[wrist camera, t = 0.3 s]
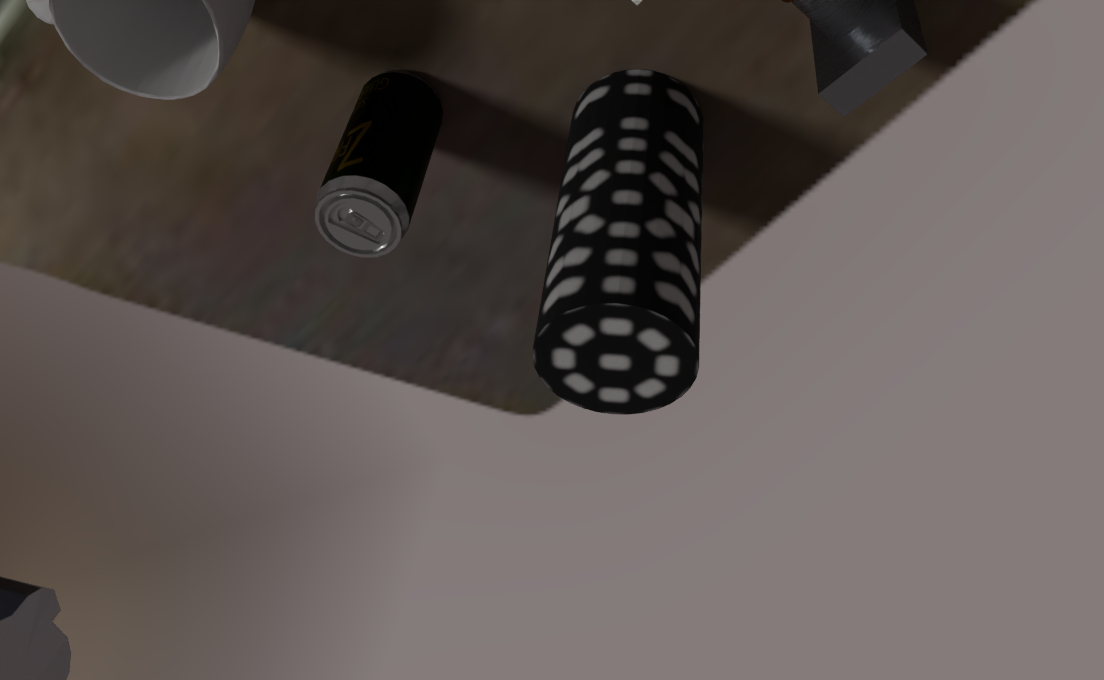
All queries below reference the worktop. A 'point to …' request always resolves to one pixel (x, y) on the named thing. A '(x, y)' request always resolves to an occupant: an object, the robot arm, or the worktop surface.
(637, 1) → the notched block
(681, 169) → the white-spotted black cylinder
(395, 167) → the beer can
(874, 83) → the pipe
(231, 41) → the mug
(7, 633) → the robot arm
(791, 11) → the worktop surface
